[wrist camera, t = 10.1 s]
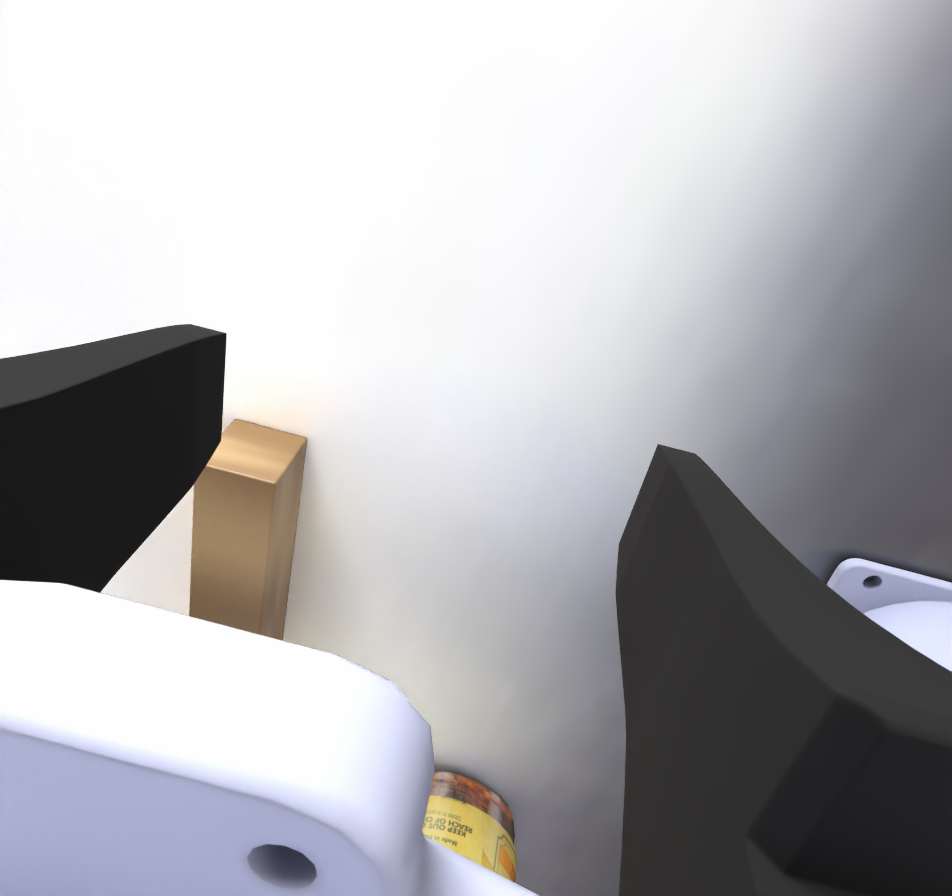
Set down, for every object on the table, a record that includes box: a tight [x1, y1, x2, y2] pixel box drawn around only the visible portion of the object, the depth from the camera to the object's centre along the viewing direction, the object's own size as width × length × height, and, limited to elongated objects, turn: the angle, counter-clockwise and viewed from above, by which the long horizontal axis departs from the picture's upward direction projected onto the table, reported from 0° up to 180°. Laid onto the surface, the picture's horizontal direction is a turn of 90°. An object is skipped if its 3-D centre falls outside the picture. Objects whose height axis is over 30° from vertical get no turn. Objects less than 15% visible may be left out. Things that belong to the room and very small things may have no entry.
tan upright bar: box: [189, 419, 307, 640], centre depth 28 cm, size 20×6×3 cm, turn 167°
